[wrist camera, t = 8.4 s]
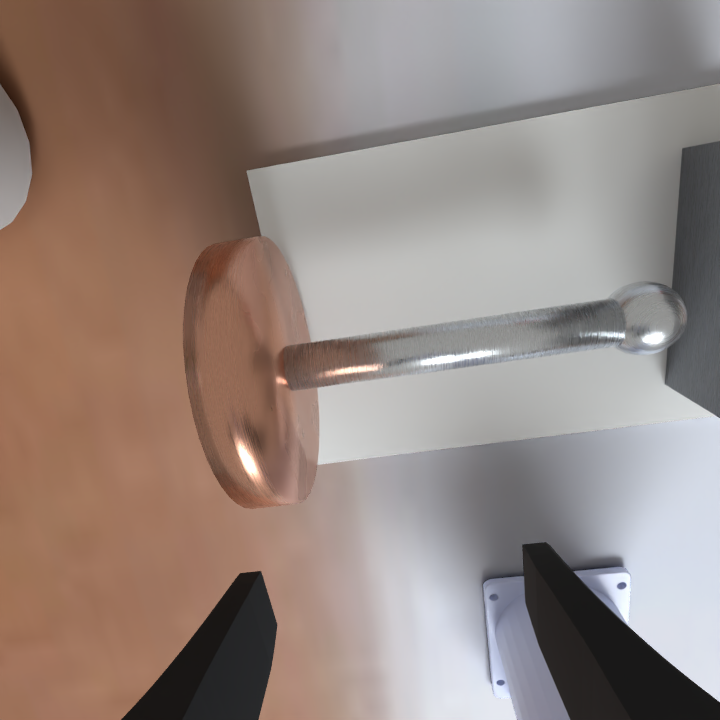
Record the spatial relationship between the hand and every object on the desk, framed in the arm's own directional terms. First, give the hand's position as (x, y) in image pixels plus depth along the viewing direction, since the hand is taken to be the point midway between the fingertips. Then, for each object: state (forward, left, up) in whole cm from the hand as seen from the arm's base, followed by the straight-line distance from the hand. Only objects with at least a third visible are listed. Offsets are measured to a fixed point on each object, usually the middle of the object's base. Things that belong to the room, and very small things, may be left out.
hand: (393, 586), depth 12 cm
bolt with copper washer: (+5, -2, -9) cm, 11 cm away
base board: (+5, -9, -10) cm, 15 cm away
